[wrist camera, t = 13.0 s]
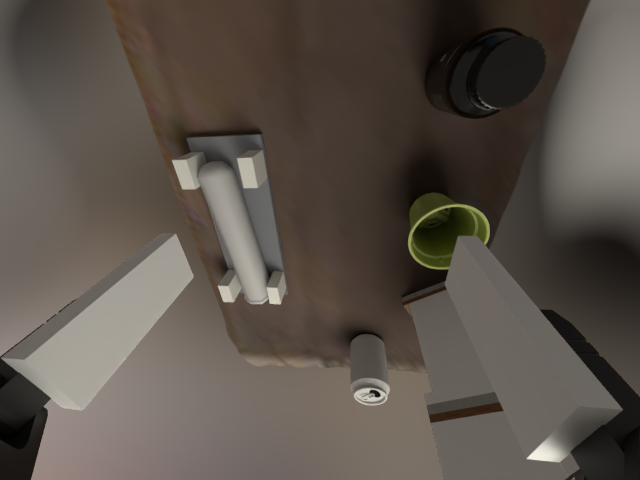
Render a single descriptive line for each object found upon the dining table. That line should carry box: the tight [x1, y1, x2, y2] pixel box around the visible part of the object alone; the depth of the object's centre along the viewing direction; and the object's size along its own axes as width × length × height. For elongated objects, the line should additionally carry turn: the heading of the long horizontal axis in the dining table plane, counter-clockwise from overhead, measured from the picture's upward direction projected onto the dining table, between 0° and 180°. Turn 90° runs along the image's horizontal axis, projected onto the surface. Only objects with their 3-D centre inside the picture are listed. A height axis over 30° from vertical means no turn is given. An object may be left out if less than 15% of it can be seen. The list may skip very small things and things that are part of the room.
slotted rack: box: [172, 134, 289, 304], centre depth 41 cm, size 11×30×6 cm, turn 3°
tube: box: [197, 161, 270, 304], centre depth 40 cm, size 5×5×25 cm
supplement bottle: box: [426, 27, 546, 119], centre depth 24 cm, size 7×7×12 cm
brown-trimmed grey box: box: [402, 281, 568, 480], centre depth 33 cm, size 11×11×35 cm
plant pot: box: [408, 193, 490, 269], centre depth 34 cm, size 9×9×9 cm
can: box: [351, 334, 390, 405], centre depth 51 cm, size 8×8×12 cm
